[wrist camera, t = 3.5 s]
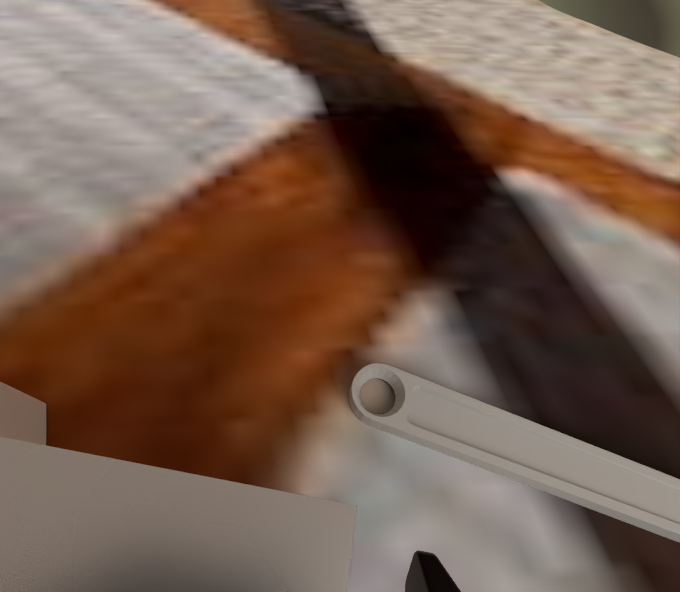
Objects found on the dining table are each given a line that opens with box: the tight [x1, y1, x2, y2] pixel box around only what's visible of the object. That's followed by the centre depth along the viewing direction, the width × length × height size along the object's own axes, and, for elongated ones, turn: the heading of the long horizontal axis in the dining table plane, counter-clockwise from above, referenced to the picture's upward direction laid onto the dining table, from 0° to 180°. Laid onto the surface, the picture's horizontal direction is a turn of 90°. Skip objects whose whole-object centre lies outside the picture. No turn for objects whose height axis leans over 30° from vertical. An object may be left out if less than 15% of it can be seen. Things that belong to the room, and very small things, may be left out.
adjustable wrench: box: [348, 363, 680, 542], centre depth 16 cm, size 25×6×2 cm, turn 66°
